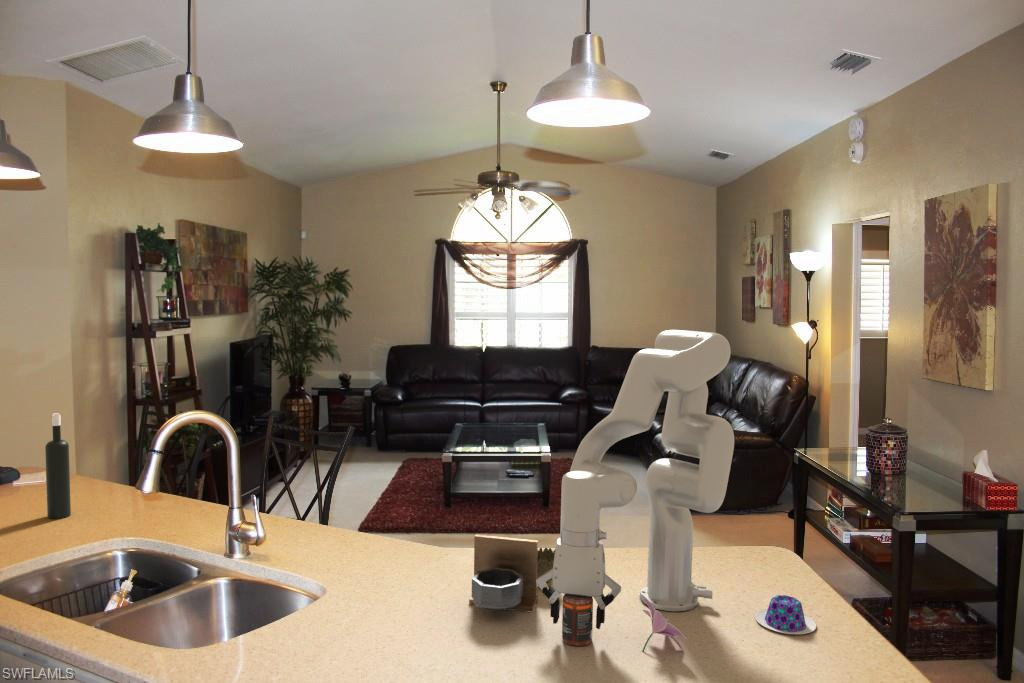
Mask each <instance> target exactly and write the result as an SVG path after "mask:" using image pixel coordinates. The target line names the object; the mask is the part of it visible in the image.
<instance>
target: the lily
mask: <svg viewBox="0 0 1024 683" xmlns="http://www.w3.org/2000/svg"><path fill="white" fill-rule="evenodd" d="M640 594H641V593H640V592H639V595H640ZM641 596H642V597H643V598H644V600H645V601H646V603H647V604H648V605H647V606H648V609H649V610H648V609H647V610H646V609H643V610H642V611H643V613H645V614H646V615H647V616H648V617H649V618H650V619H651V627H652V628H651V633H650V635H649V636H648V638H647V639H646V642H645V643H644V646H643V647H642V650H641V652H645V650H646V646H648V645H647V644H648V642H649V641H650V639H651V638H652V636H653V635H654V634H658V635H662V636H666V637H668V638H670V639H671V640H672V641H673V642H675V644H676V645H677V647H679V648H680V649H681V651H682V652H685V650H684V648H683V647H682V645H681V643H680V642H679V641H678V639H677V638H680V639H683V640H684V639H685V640H687V637H686V636H685V635H684V633H682V632H681V631H680V629H678V628H677V626H675V625H674V624H672V623H670V622H669V618H665V617H664V615H663V614H662V612H660V611H659V609H656V608H654V606H653V605H652V604H651V602H650V601H649V600H648V599H647V598H646V597H644V596H643V595H642V594H641Z"/></svg>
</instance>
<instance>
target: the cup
mask: <svg viewBox="0 0 1024 683" xmlns="http://www.w3.org/2000/svg"><path fill="white" fill-rule="evenodd" d="M554 554H555V549H554V550H552V548H551V547H549V548H547V547H545V548H544V549H543V548H542V547H540V548H538V568H537V578H538V577H539V576H541V575H543V574H544V573H546V572H548V571H549V570H551V569H553V561H554ZM546 583H547V585H548V586H549V587H550V588H552V578H551V579H549V580H547V581H546ZM537 588H540V587H539V586H538V584H537Z"/></svg>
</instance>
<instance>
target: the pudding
mask: <svg viewBox="0 0 1024 683" xmlns="http://www.w3.org/2000/svg"><path fill="white" fill-rule="evenodd" d="M754 618H755V620H756V621H757V622H758V624H760V625H761V626H763V627H764V628H766V629H769V630H772V631H775V632H778V633H782V634H787V635H805V634H810V633H812V632H814V631H815V630H816V629H817V624H816V622H815V621H814V619H812V618H811V617H809V616H807V615H805V614H804V609H803V604H802V602H801V601H800V600H799V599H798V598H796V597H794V596H789V595H785V594H784V595H781V594H778V595H775V596H773V597H772V598H770V601H769V604H768V607H767V608H765V609H760V610H759V611H757V612H756V614H755V615H754Z"/></svg>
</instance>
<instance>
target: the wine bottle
mask: <svg viewBox="0 0 1024 683" xmlns="http://www.w3.org/2000/svg"><path fill="white" fill-rule="evenodd" d="M61 418H62V416H61V414H60V412H55V413H54V412H53V413H52V415H51V426H52V427H51V428H52V440H50V441H48V442H47V443H46V444H45V448H44V449H45V450H44V451H45V475H46V476H45V477H46V478H45V481H46V482H45V483H46V507H47V510H46V512H47V519H49V520H61V519H65V518H68V517H70V516H71V515H72V514H71V512H72V511H71V508H72V507H71V478H70V446H69V442H67V441H66V440H64V439H62V436H61V435H62V434H61V430H62V429H61V428H62V427H61V424H62V422H61V421H62V419H61Z"/></svg>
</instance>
